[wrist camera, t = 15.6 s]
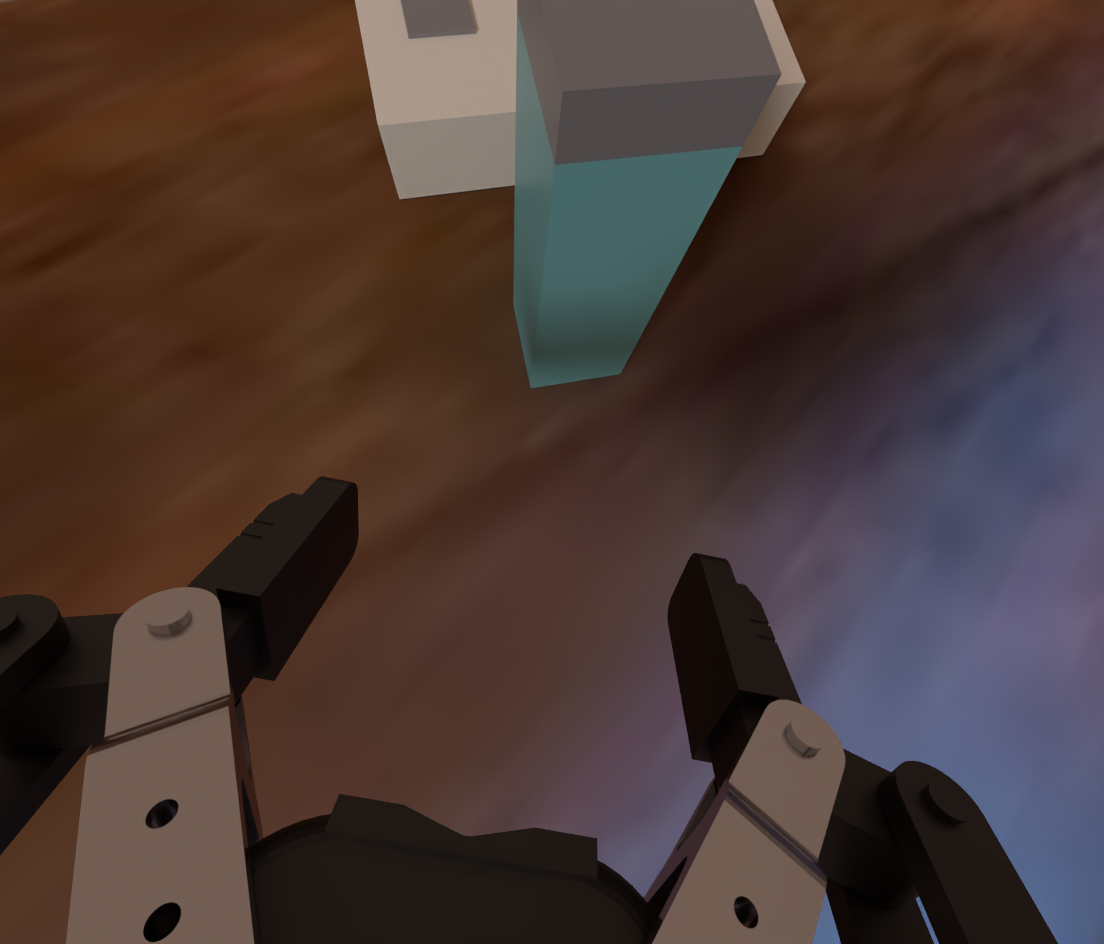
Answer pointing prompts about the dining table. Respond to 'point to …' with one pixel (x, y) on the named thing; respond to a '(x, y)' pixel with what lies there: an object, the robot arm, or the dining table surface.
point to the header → (482, 90)
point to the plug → (620, 162)
